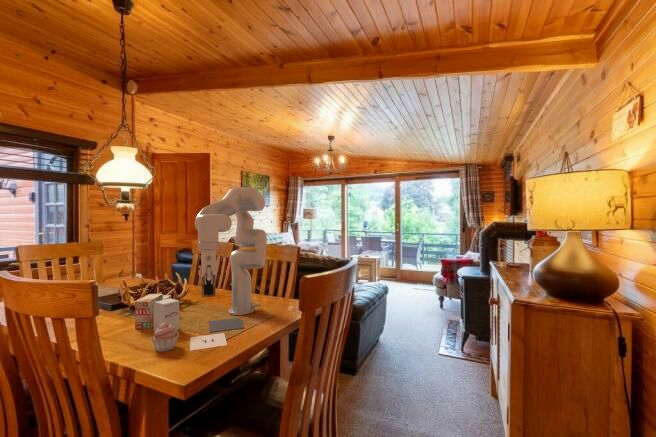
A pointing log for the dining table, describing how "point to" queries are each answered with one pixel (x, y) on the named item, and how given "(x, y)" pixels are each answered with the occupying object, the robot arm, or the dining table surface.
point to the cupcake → (165, 337)
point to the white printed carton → (147, 310)
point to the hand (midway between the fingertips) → (208, 292)
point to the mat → (225, 325)
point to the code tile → (207, 341)
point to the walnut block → (203, 286)
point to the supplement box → (166, 313)
